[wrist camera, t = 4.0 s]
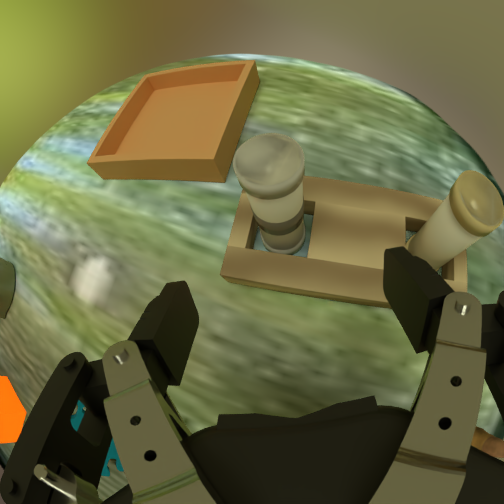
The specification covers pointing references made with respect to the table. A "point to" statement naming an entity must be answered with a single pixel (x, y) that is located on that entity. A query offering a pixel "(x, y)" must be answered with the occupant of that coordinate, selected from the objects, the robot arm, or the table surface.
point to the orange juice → (10, 412)
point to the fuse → (458, 220)
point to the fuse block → (337, 243)
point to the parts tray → (179, 124)
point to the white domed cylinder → (274, 189)
